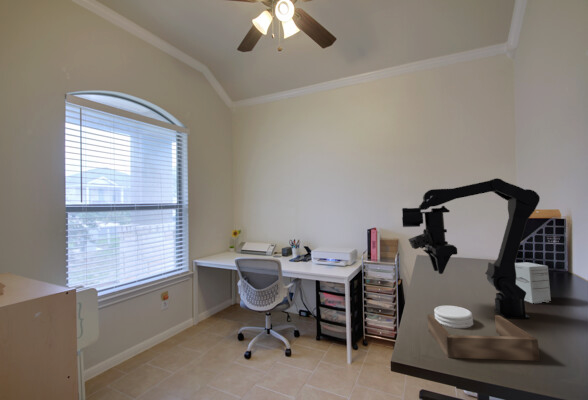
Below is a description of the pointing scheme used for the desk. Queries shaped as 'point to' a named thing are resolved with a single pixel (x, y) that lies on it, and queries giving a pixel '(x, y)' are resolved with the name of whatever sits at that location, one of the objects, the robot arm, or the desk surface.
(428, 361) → the desk surface
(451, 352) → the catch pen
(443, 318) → the coaster
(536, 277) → the supplement box
